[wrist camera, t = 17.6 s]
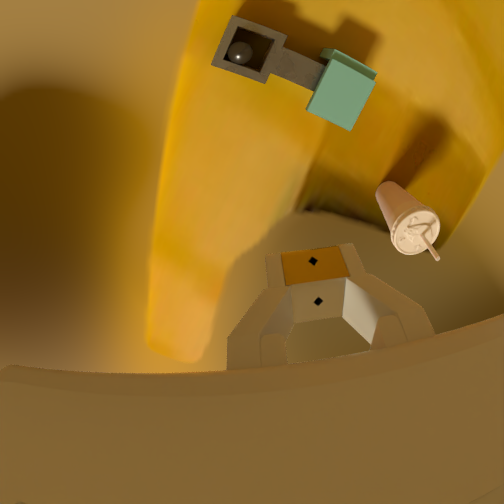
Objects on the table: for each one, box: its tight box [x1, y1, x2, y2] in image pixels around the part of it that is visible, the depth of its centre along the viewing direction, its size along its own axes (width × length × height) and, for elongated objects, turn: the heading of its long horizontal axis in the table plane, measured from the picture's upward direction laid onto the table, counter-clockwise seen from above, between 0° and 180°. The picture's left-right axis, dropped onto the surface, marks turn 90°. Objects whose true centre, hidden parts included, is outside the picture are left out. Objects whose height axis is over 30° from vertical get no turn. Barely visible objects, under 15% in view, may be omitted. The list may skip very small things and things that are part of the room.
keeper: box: [306, 48, 377, 131], centre depth 28 cm, size 5×7×5 cm
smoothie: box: [376, 181, 440, 261], centre depth 34 cm, size 6×6×14 cm
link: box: [211, 15, 326, 91], centre depth 27 cm, size 15×6×4 cm, turn 68°
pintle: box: [228, 42, 253, 64], centre depth 26 cm, size 2×2×6 cm
